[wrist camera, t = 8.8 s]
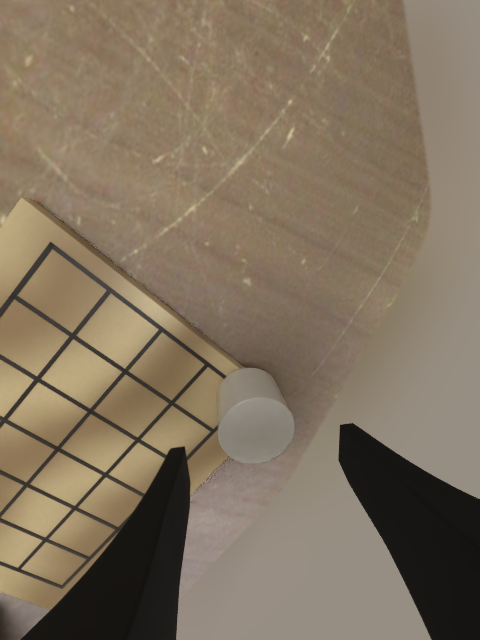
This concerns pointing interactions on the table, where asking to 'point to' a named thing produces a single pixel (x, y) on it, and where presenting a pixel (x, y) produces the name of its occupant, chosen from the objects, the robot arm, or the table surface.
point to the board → (87, 402)
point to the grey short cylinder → (253, 417)
